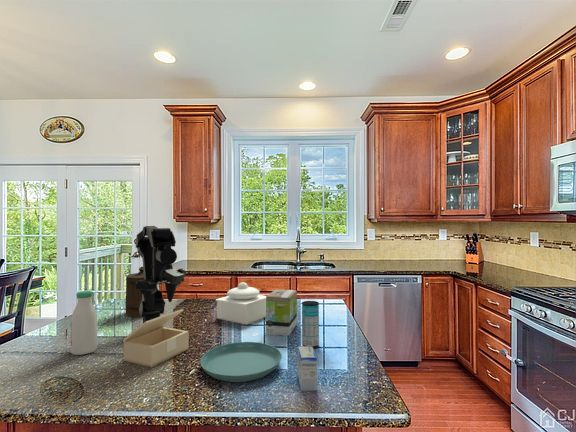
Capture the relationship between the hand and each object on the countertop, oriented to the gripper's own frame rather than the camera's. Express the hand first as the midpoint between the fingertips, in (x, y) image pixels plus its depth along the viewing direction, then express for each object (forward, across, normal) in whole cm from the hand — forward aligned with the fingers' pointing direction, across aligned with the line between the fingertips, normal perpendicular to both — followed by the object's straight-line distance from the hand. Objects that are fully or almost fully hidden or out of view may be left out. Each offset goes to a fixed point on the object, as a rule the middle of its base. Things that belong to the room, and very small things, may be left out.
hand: (161, 304), depth 123 cm
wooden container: (+13, +27, +36) cm, 47 cm away
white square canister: (+14, +38, -13) cm, 42 cm away
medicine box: (+14, -11, -60) cm, 63 cm away
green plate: (+14, -8, -38) cm, 41 cm away
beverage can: (+14, +16, -52) cm, 56 cm away
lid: (+4, -10, -7) cm, 13 cm away
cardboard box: (+13, -10, -8) cm, 19 cm away
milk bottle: (+13, -17, +17) cm, 28 cm away
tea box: (+14, +28, -36) cm, 48 cm away
